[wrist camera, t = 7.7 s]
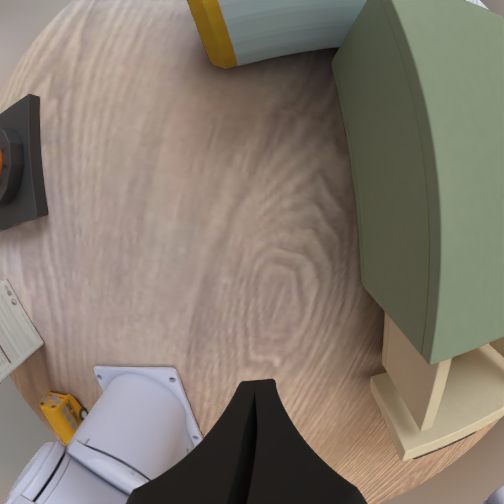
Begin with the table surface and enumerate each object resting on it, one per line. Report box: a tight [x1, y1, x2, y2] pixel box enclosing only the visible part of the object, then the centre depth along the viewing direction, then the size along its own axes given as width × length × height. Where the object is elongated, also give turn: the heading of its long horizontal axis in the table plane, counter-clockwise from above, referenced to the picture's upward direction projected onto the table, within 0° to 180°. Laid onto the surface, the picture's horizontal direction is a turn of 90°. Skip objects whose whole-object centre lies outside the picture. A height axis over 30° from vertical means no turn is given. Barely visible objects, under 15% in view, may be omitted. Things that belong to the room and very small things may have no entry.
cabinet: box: [331, 0, 504, 365], centre depth 11 cm, size 15×13×10 cm
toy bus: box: [39, 391, 88, 445], centre depth 21 cm, size 3×10×4 cm, turn 9°
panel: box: [0, 94, 48, 231], centre depth 16 cm, size 10×8×3 cm
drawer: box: [370, 312, 504, 462], centre depth 14 cm, size 18×11×8 cm, turn 9°
